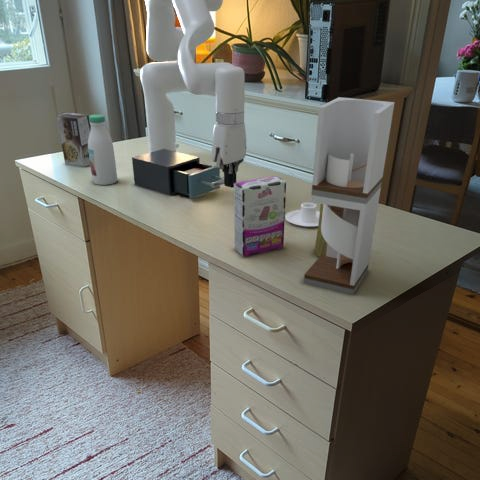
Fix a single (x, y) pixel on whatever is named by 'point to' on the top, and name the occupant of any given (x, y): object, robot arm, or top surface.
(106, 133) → the milk bottle
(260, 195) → the candy bar box
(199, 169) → the package
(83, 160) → the printed cardboard box
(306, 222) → the candle holder
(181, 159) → the cabinet
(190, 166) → the drawer
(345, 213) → the tall two-tier shelf
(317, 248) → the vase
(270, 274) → the top surface
